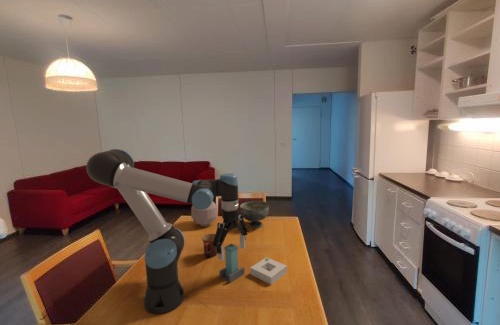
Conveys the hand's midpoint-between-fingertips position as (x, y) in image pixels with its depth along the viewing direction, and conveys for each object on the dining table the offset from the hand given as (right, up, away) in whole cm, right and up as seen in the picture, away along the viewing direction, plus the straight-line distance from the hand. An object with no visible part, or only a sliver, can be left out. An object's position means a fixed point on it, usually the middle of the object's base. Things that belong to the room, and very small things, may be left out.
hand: (232, 253), depth 116 cm
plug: (0, -11, +2) cm, 11 cm away
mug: (-13, -9, +20) cm, 25 cm away
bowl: (+11, -2, +60) cm, 62 cm away
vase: (-24, -2, +63) cm, 68 cm away
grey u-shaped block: (0, -11, +2) cm, 11 cm away
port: (+17, -11, +3) cm, 20 cm away
